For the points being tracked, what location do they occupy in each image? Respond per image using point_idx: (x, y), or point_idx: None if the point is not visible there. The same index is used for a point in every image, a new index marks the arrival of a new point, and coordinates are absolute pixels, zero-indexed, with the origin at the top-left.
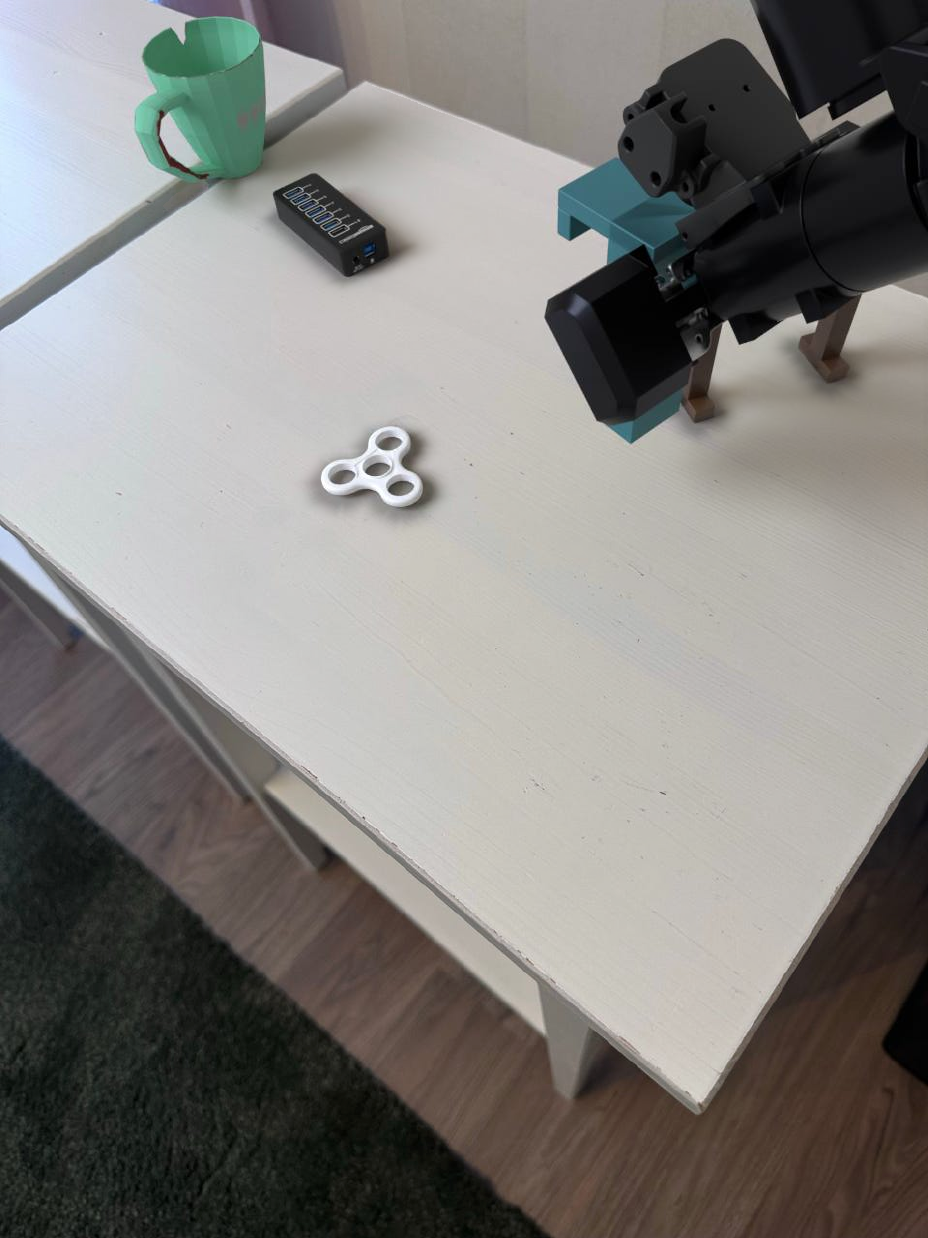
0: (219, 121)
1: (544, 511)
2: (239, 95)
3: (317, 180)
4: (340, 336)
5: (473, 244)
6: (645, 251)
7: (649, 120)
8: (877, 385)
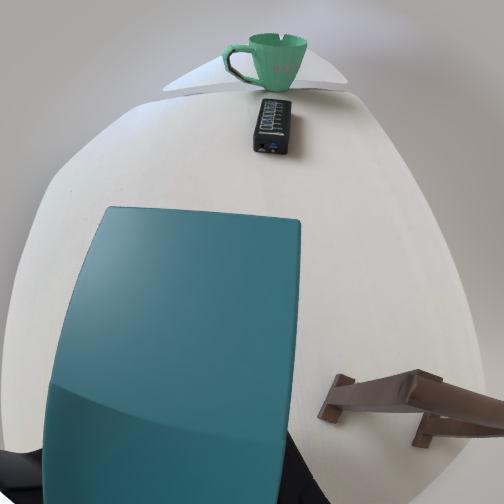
0: (264, 64)
1: None
2: (277, 58)
3: (287, 104)
4: (211, 177)
5: (332, 179)
6: (6, 496)
7: None
8: (427, 463)
